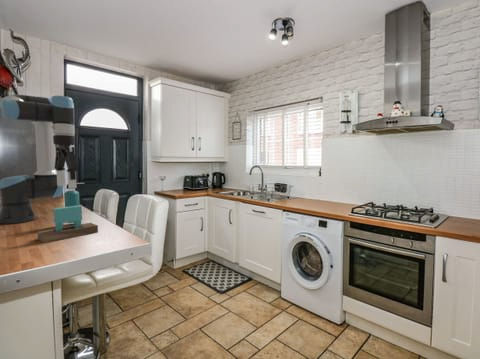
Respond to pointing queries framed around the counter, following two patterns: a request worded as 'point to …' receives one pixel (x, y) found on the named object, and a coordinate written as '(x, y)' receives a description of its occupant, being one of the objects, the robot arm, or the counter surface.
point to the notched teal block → (67, 216)
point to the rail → (66, 232)
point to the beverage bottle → (71, 199)
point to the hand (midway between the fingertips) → (66, 186)
